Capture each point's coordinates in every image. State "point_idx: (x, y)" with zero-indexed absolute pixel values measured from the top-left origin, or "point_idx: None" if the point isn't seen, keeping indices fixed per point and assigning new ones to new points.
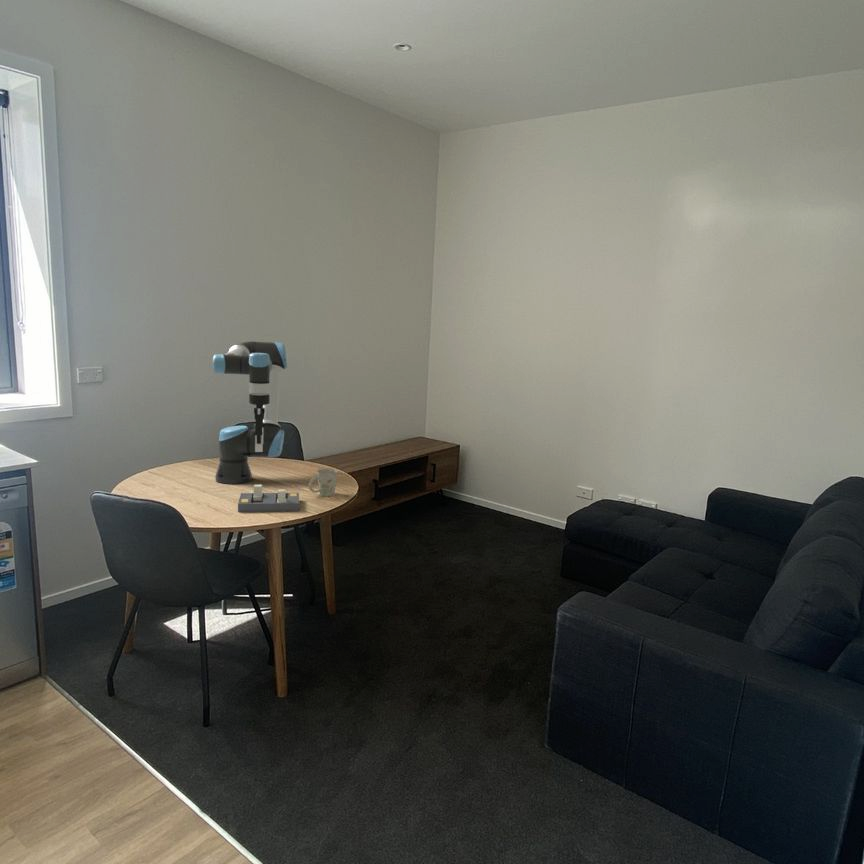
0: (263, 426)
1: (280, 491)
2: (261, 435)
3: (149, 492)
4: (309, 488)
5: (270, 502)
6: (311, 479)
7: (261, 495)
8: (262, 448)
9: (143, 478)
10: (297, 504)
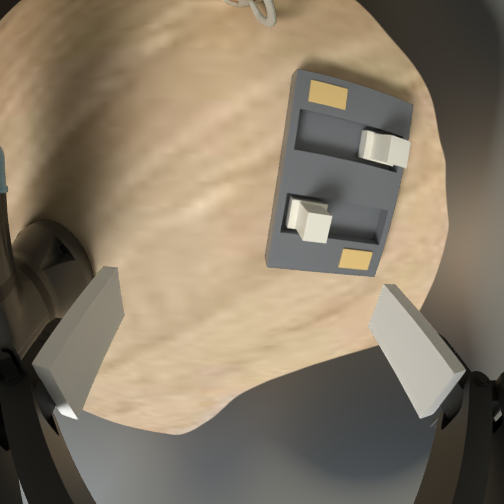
0: (11, 361)
1: (407, 158)
2: (460, 375)
3: (175, 410)
4: (271, 27)
5: (389, 186)
6: (273, 7)
7: (322, 206)
8: (407, 298)
9: (90, 406)
10: (410, 109)
